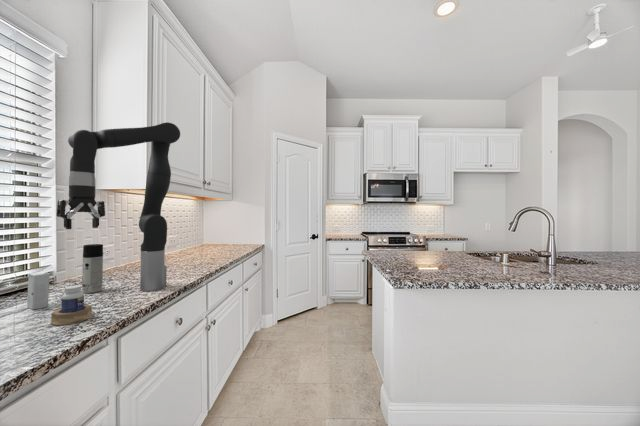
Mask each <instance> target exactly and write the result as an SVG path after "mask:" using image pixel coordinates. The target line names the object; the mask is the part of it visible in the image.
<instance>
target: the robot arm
mask: <svg viewBox="0 0 640 426" xmlns="http://www.w3.org/2000/svg"><path fill="white" fill-rule="evenodd" d="M180 138H181V130H180V128H179V127H178V126H177V125H176V124H174V123H173V122H162V123H158V124H156V125H151V126H142V127H128V128H127V127H126V128H125V127H123V128H121V127H120V128H106V129H101V130H98V131H89V130H87V129H79V130H77V131H75V132H73V133H71V134H70V135H69V136H68V139H67V142H68V144H69V146H70V147H71V148H72V156H71V158H70V160H69V177H68V200H65V199H58V200H57V205H56V217H58V218H62V219H63V227H64V228H65V230H71V229H73V228H72V225H73V223H72V220H73V219H72V217H73V216H74V215H76V214H77V213H88V214H89V215H90V216H91V217H92V223H91V224H92V225H91V226H92V229H97V228H98V227H100V218H103V217H105V216H106V206H105V201H104V200H98V201H96V185H97V184H96V182H97V181H96V174H95V173H96V172H95V171H96V170H95V169H96V168H95V167H96V165H95V161H96V156H97V150H101V149H107V148H109V149H110V148H119V147H128V146H134V145H138V144H139V145H140V144H145V143H151V146H150V147H151V151H150V157H149V164H148V168H147V174H146V175H147V176H146V181H145V189H144V198H143V199H144V200H143V206H142V209H141V210H142V211H141V213H140V217H139V220H138V227H139V229H140V231H141V232H142V233H143V239H142V241H143V242H142V243H141V245H140V269H139V270H140V271H139V272H140V280H139V281H140V282H139V283H140V284H139V285H140V286H139V289H140V291H142V292H155V291H159V290H162V289H164V288H165V287H167V267H168V266H166V265H165V264H166V263H165V261H166V260H165V259H166V258H165V257H166V256H165V254H166V253H165V251H166V250H165V249H166V248H165V247H166V244H167V237H168V223H167V219H165V217H164V216H162V215H161V213H162V205H163V202H164V200H165V198H166V197H167V193H168V191H169V189H170V185H171V178H172V177H171V176H172V169H171V165H170V162H169V151H170V148H171V147H170V146H171V144H174V143H176V142H177V141H179V139H180ZM68 205H69V208H68V209H67V210H66V207H67V206H68ZM95 206H96V208H95Z"/></svg>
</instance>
